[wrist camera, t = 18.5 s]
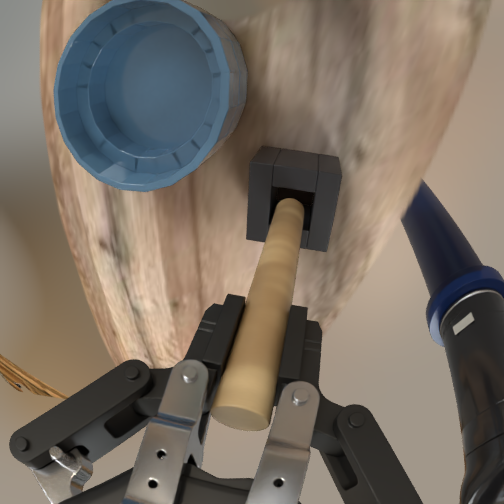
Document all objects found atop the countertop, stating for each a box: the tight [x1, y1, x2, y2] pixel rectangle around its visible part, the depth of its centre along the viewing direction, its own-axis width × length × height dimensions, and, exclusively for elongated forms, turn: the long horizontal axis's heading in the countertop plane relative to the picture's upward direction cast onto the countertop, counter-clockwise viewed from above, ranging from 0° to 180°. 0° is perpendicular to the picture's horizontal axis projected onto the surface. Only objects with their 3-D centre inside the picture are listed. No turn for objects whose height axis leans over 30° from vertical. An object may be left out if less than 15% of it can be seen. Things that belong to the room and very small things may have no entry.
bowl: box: [54, 0, 248, 192], centre depth 20 cm, size 15×15×6 cm
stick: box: [210, 198, 304, 431], centre depth 15 cm, size 2×2×15 cm
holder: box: [246, 146, 342, 252], centre depth 23 cm, size 6×6×4 cm
